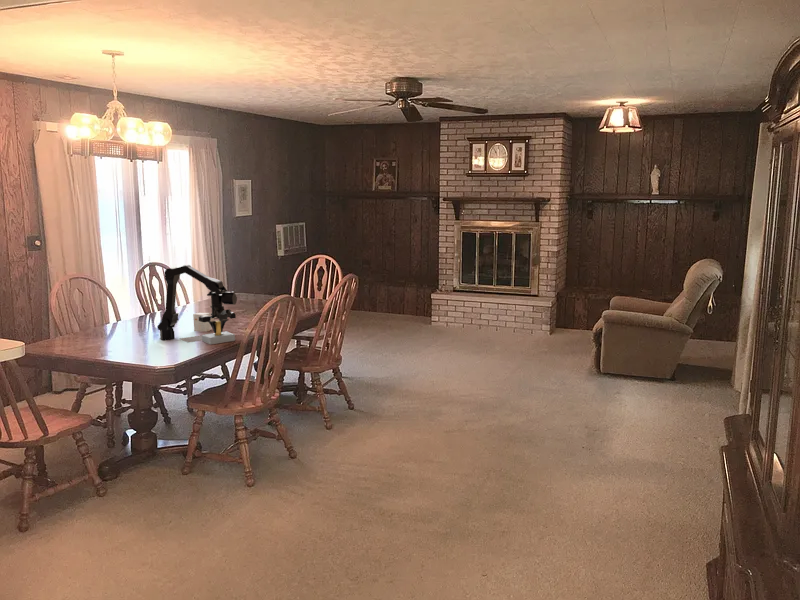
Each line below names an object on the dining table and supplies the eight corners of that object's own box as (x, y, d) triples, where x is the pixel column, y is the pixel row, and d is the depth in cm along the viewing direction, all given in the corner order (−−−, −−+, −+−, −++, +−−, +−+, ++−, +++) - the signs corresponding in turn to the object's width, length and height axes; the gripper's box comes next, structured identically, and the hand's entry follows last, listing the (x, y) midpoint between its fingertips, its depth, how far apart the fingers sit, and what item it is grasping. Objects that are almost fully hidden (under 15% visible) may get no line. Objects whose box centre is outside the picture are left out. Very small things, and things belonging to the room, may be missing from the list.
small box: (211, 330, 383) (210, 312, 382) (206, 332, 378) (205, 314, 376) (199, 330, 385) (198, 312, 384) (193, 332, 380) (193, 313, 378)
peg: (217, 338, 353) (216, 322, 351) (214, 337, 355) (213, 321, 354) (222, 337, 355) (221, 321, 353) (219, 336, 357) (219, 320, 355)
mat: (188, 343, 352) (188, 342, 351) (179, 339, 360) (179, 338, 360) (212, 339, 360) (212, 338, 360) (203, 336, 369) (203, 334, 369)
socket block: (210, 345, 347) (210, 338, 346) (202, 342, 354) (201, 334, 354) (235, 341, 356) (234, 334, 355) (226, 338, 363) (226, 331, 363)
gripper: (206, 308, 340) (208, 337, 342) (240, 304, 352) (241, 332, 354) (197, 305, 348) (199, 334, 351) (230, 301, 360) (231, 329, 363)
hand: (218, 332), depth 354 cm, fingers open, 3 cm apart
